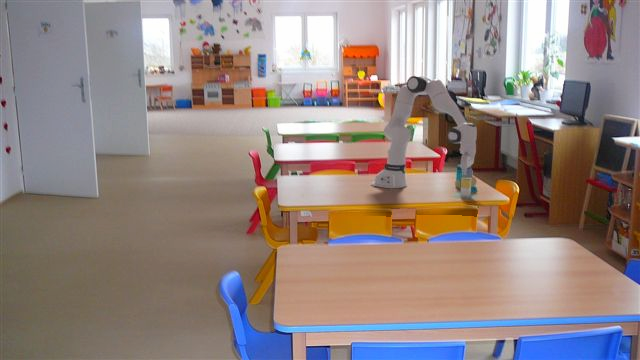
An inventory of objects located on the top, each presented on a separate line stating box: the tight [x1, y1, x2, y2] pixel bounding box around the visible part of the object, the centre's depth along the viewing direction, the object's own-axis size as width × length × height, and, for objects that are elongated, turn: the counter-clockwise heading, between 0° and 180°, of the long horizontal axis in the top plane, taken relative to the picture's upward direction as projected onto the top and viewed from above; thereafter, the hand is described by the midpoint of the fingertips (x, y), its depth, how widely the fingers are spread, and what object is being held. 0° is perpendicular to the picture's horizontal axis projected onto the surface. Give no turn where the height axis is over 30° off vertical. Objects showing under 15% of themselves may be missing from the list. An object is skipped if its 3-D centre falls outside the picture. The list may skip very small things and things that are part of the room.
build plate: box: [451, 191, 479, 200], centre depth 391 cm, size 13×13×1 cm
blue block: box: [462, 167, 473, 178], centre depth 388 cm, size 5×5×5 cm
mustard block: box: [461, 178, 472, 188], centre depth 389 cm, size 5×5×5 cm
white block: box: [460, 187, 472, 197], centre depth 390 cm, size 5×5×5 cm
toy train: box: [454, 164, 479, 193], centre depth 407 cm, size 8×17×15 cm, turn 15°
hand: (466, 173), depth 388 cm, fingers closed on blue block, 6 cm apart
